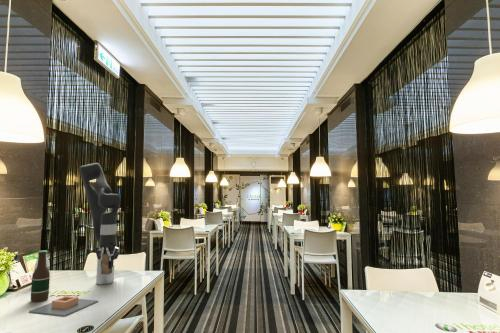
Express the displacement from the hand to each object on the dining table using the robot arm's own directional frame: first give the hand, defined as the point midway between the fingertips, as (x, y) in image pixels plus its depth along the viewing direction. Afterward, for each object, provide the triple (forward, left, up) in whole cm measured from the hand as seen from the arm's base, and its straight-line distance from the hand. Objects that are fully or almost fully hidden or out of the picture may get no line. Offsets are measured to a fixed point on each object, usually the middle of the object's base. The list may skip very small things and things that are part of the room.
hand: (106, 268), depth 156 cm
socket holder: (+10, -14, -17) cm, 24 cm away
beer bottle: (+5, -35, -17) cm, 39 cm away
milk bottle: (-17, -59, -17) cm, 64 cm away
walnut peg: (0, 0, -3) cm, 3 cm away
